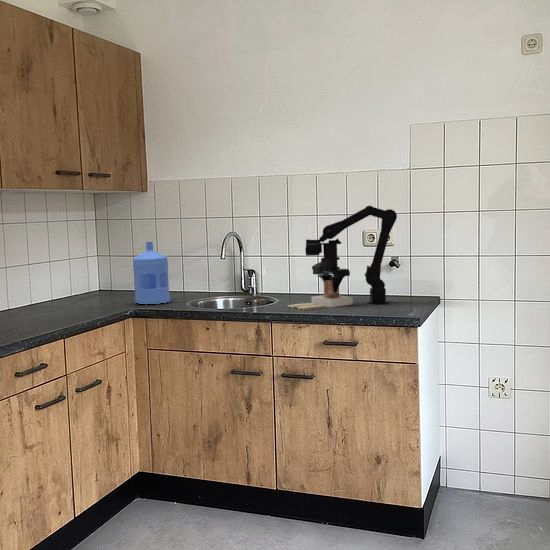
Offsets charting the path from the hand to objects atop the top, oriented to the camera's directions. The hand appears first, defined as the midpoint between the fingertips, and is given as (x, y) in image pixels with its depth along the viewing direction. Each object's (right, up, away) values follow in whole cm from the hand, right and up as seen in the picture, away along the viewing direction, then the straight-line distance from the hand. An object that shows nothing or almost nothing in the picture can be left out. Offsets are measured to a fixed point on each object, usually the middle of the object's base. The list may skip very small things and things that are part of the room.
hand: (331, 292), depth 278 cm
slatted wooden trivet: (-11, -6, -6) cm, 14 cm away
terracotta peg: (0, -5, 0) cm, 5 cm away
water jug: (-80, -6, +25) cm, 84 cm away
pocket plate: (0, -5, 0) cm, 5 cm away
